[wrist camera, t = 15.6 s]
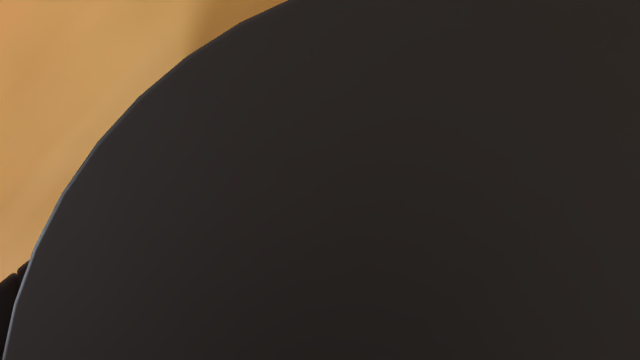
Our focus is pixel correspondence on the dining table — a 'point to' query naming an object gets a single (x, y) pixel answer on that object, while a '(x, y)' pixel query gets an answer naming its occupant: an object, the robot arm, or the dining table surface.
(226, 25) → the dining table surface
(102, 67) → the dining table surface
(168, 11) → the dining table surface
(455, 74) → the cap
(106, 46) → the dining table surface
